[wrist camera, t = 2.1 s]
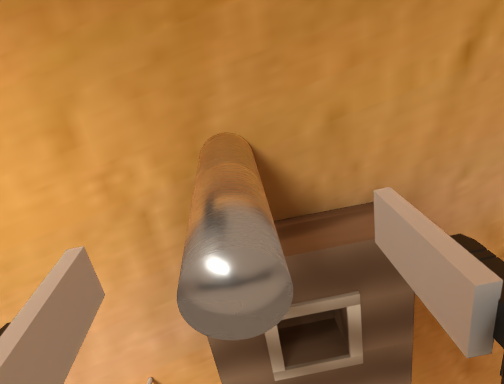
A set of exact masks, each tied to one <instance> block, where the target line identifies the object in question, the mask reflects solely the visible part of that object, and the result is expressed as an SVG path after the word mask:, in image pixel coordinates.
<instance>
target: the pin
mask: <svg viewBox="0 0 504 384" xmlns="http://www.w3.org/2000/svg"><path fill="white" fill-rule="evenodd" d="M292 299H293V284H292V280H291V277H290V273H289V270H288V267H287V264H286V260H285V257H284V254H283V250H282V247H281V244H280V241H279V237H278V234H277V231H276V227H275V224H274V221H273V218H272V214H271V211H270V208H269V204H268V201H267V198H266V194H265V191H264V188H263V185H262V181H261V178H260V175H259V171H258V168H257V165H256V162H255V158H254V155H253V152H252V149H251V147H250V145H249V144H248V142H247V141H246V140H245V139H243V138H242V137H240V136H239V135H236V134H233V133H220V134H217V135H214V136H213V137H211V138H210V139H208V140H207V141H206V142H205V144H204V145H203V147H202V149H201V152H200V157H199V163H198V169H197V175H196V181H195V187H194V193H193V199H192V205H191V211H190V217H189V223H188V229H187V235H186V241H185V247H184V253H183V259H182V265H181V271H180V277H179V284H178V290H177V304H178V308H179V310H180V313H181V315H182V316H183V318H184V319H185V321H186V322H187V323H188V324H189V325H190V326H191V327H192V328H194V329H195V330H197V331H198V332H200V333H202V334H204V335H206V336H209V337H212V338H216V339H221V340H243V339H248V338H252V337H255V336H258V335H261V334H263V333H265V332H267V331H268V330H270V329H272V328H273V327H274V326H276V325H277V324H278V323H279V322H280V321H281V320H282V319H283V318H284V316H285V315H286V313H287V312H288V310H289V308H290V306H291V303H292Z"/></svg>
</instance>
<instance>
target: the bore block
mask: <svg viewBox="0 0 504 384" xmlns="http://www.w3.org/2000/svg"><path fill="white" fill-rule="evenodd" d="M274 224H275V227H276V231H277V234H278V237H279V241H280V244H281V247H282V250H283V254H284V257H285V260H286V264H287V267H288V270H289V273H290V277H291V280H292V284H293V299H292V303H291V306H290V308H289V310H288V312H287V313H286V315H285V316H284V318H283V319H282V320H281V321H280V322H279V323H278V324H277V325H276V326H274V327H273V328H272V329H270V330H268V331H267V332H265V333H263V334H261V335H258V336H255V337H252V338H248V339H243V340H221V339H216V338H212V337H209V336H207V337H208V341H209V344H210V347H211V350H212V353H213V357H214V360H215V363H216V366H217V369H218V373H219V376H220V379H221V382H222V384H411V378H412V351H413V325H414V298H415V292H414V291H413V290H412V288H411V287H410V286H409V284H408V283H407V282H406V281H405V279H404V278H403V277H402V276H401V274H400V273H399V272H398V271H397V269H396V268H395V267H394V265H393V264H392V263H391V262H390V260H389V259H388V258H387V257H386V255H385V254H384V253H383V252H382V250H381V249H380V248H379V246H378V245H377V244H376V243H375V225H374V202H371V203H366V204H361V205H355V206H350V207H345V208H340V209H335V210H330V211H325V212H320V213H315V214H309V215H304V216H299V217H294V218H289V219H284V220H279V221H274Z"/></svg>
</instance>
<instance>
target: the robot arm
mask: <svg viewBox="0 0 504 384" xmlns="http://www.w3.org/2000/svg"><path fill="white" fill-rule="evenodd" d="M373 192H374V225H375V243H376V244H377V245H378V246H379V248H380V249H381V250H382V252H383V253H384V254H385V255H386V257H387V258H388V259H389V260H390V262H391V263H392V264H393V265H394V267H395V268H396V269H397V271H398V272H399V273H400V274H401V276H402V277H403V278H404V279H405V281H406V282H407V283H408V284H409V286H410V287H411V288H412V290H413V291H414V292H415V293H416V295H417V296H418V297H419V298H420V300H421V301H422V302H423V304H424V305H425V306H426V307H427V309H428V310H429V311H430V312H431V314H432V315H433V316H434V317H435V319H436V320H437V321H438V323H439V324H440V325H441V326H442V328H443V329H444V330H445V331H446V333H447V334H448V335H449V336H450V338H451V339H452V340H453V342H454V343H455V344H456V345H457V347H458V348H459V349H460V350H461V352H462V353H463V354H464V355H465V357H466V358H471V357H476V356H481V355H486V354H491V353H492V348H493V342H494V339H495V340H496V341H497V342H498V343H499V344H500V345H501V346H502V347H503V349H504V261H502V260H501V259H500V258H498V257H497V258H496V255H494V254H493V253H492V252H490V251H489V250H487V249H486V248H485V247H484V246H483V245H481V244H480V243H479V242H477V241H476V240H474V239H472V238H469V237H467V236H464V235H462V234H457V235H451V236H449V235H448V234H447V233H445V232H444V231H443V230H442V229H441V228H439V227H438V226H437V225H436V224H434V223H433V222H432V221H431V220H430V219H428V218H427V217H426V216H425V215H424V214H422V213H421V212H420V211H419V210H418V209H416V208H415V207H414V206H413V205H412V204H410V203H409V202H408V201H407V200H405V199H404V198H403V197H402V196H401V195H399V194H398V193H397V192H396V191H395V190H393V189H392V188H391V187H387V188H382V189H377V190H373ZM104 296H105V293H104V291H103V289H102V286H101V284H100V282H99V280H98V277H97V275H96V273H95V271H94V268H93V266H92V264H91V261H90V259H89V257H88V255H87V252H86V250H85V248H84V246H82V247H77V248H72V249H67V250H66V251H65V252H64V254H63V255H62V256H61V258H60V259H59V260H58V262H57V263H56V264H55V266H54V267H53V268H52V270H51V271H50V272H49V273H48V275H47V276H46V277H45V279H44V280H43V281H42V283H41V284H40V285H39V287H38V288H37V289H36V291H35V292H34V293H33V294H32V296H31V297H30V298H29V300H28V301H27V302H26V304H25V305H24V306H23V308H22V309H21V310H20V312H19V313H18V314H17V315H16V317H15V318H14V319H13V321H12V322H11V323H7V324H6V325H4V326H3V327H2V328H1V329H0V384H64V381H65V379H66V377H67V375H68V373H69V371H70V369H71V367H72V364H73V362H74V360H75V358H76V356H77V354H78V352H79V349H80V347H81V345H82V343H83V341H84V339H85V337H86V334H87V332H88V330H89V328H90V326H91V324H92V322H93V320H94V317H95V315H96V313H97V311H98V309H99V307H100V305H101V302H102V300H103V298H104ZM500 375H501V376H502V379H501V384H504V354H503V360H502V366H501V371H500Z"/></svg>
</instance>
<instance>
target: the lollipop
mask: <svg viewBox="0 0 504 384" xmlns="http://www.w3.org/2000/svg"><path fill="white" fill-rule="evenodd" d="M152 381H153V378H152V377H149V378H148V382H147V384H152Z"/></svg>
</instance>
